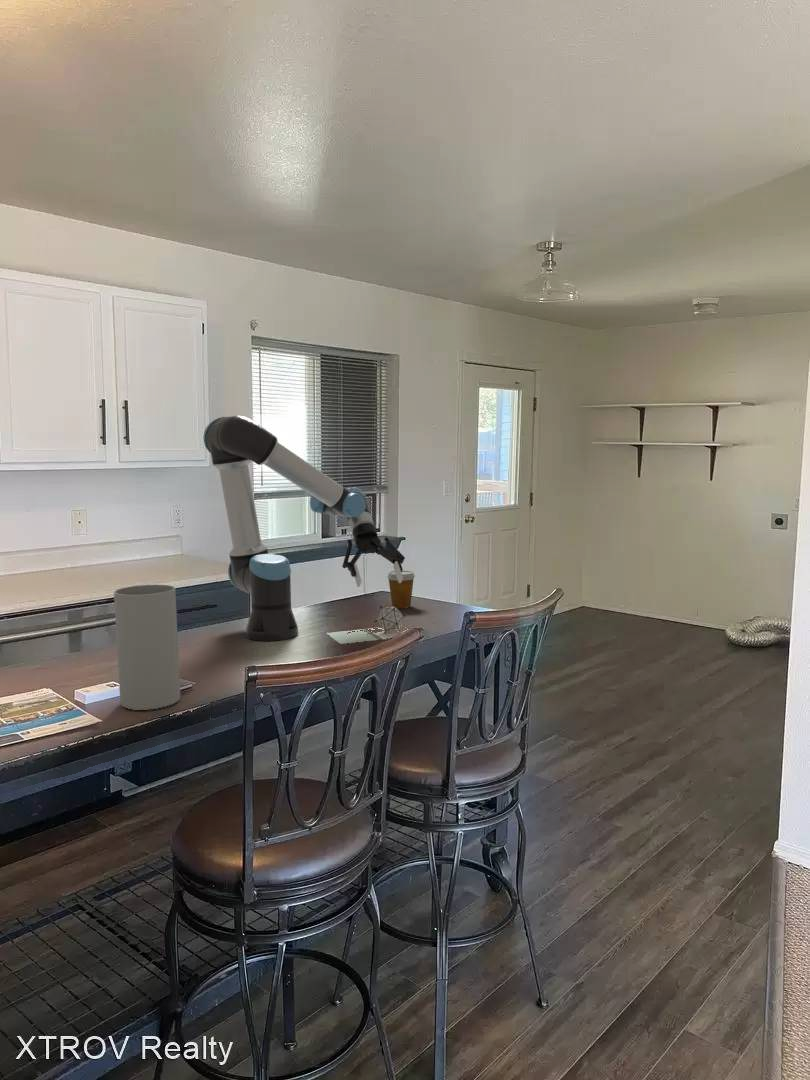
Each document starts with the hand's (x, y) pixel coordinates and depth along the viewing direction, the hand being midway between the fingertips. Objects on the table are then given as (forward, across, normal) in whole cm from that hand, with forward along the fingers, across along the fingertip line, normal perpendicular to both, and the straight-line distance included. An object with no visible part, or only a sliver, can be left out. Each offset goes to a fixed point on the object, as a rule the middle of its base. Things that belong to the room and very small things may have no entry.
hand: (380, 582), depth 240 cm
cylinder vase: (+43, +72, +25) cm, 88 cm away
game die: (+16, +1, -2) cm, 17 cm away
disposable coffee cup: (-7, -16, -26) cm, 32 cm away
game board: (+17, +7, -2) cm, 18 cm away
